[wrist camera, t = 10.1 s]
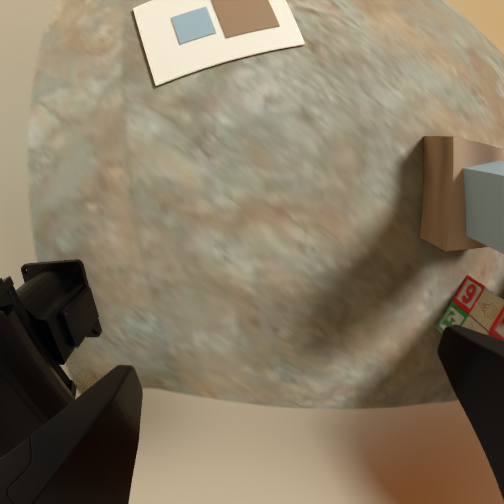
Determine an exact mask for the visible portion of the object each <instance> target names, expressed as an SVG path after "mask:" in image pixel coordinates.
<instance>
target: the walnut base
mask: <svg viewBox="0 0 504 504" xmlns="http://www.w3.org/2000/svg"><path fill="white" fill-rule="evenodd" d="M496 161H504V149H501V148H497V147H494V146H490V145H486V144H482V143H479V142H474V141H470V140H466V139H462V138H457V137H445V136H424V188H423V206H422V219H421V229H420V238H422V239H423V240H425V241H427V242H429V243H431V244H433V245H435V246H437V247H438V248H440V249H442V250H444V251H446V252H447V251H456V250H465V249H474V248H483V247H489V246H487V245H484V244H482V243H480V242H478V241H476V240H474V239H472V238H470V237H467V236H466V201H465V186H464V174H463V168H465V167H470V166H476V165H481V164H486V163H491V162H496Z"/></svg>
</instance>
